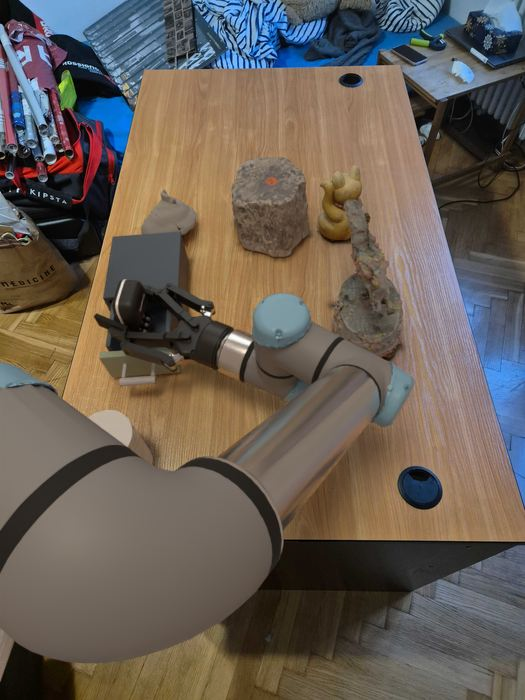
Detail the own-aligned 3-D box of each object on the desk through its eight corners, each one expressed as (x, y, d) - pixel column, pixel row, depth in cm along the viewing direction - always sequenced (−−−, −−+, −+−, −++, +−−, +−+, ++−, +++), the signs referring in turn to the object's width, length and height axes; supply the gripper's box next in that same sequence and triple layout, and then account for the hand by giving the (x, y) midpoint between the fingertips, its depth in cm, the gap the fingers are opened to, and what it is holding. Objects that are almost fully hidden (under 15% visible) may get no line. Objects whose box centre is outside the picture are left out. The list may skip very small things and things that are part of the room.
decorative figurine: (345, 212, 105) (353, 153, 93) (369, 233, 102) (381, 175, 89) (311, 231, 103) (314, 172, 90) (335, 253, 99) (342, 195, 86)
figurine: (329, 279, 95) (341, 175, 74) (393, 280, 94) (424, 175, 73) (331, 365, 84) (345, 272, 63) (403, 367, 84) (443, 273, 62)
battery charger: (150, 348, 83) (132, 308, 73) (129, 347, 83) (109, 307, 74) (158, 316, 87) (142, 275, 77) (138, 315, 87) (119, 274, 77)
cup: (130, 498, 73) (105, 475, 63) (92, 472, 76) (62, 445, 66) (162, 455, 77) (143, 426, 67) (125, 432, 79) (101, 400, 69)
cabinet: (186, 320, 91) (177, 292, 84) (117, 325, 91) (102, 298, 84) (188, 261, 100) (180, 231, 92) (125, 266, 100) (112, 236, 93)
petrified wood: (240, 197, 110) (234, 138, 97) (314, 202, 108) (317, 143, 95) (224, 255, 100) (215, 199, 87) (305, 262, 98) (308, 205, 85)
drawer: (179, 393, 82) (171, 374, 76) (109, 398, 82) (95, 380, 76) (183, 308, 92) (176, 286, 86) (120, 313, 92) (109, 291, 86)
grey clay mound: (156, 223, 110) (149, 178, 103) (205, 227, 109) (201, 182, 102) (137, 248, 101) (128, 201, 94) (190, 253, 100) (185, 206, 93)
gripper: (198, 411, 73) (83, 358, 80) (256, 317, 83) (149, 276, 89) (189, 389, 67) (65, 334, 73) (254, 290, 76) (138, 248, 83)
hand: (111, 302), depth 81 cm, fingers closed on battery charger, 7 cm apart
